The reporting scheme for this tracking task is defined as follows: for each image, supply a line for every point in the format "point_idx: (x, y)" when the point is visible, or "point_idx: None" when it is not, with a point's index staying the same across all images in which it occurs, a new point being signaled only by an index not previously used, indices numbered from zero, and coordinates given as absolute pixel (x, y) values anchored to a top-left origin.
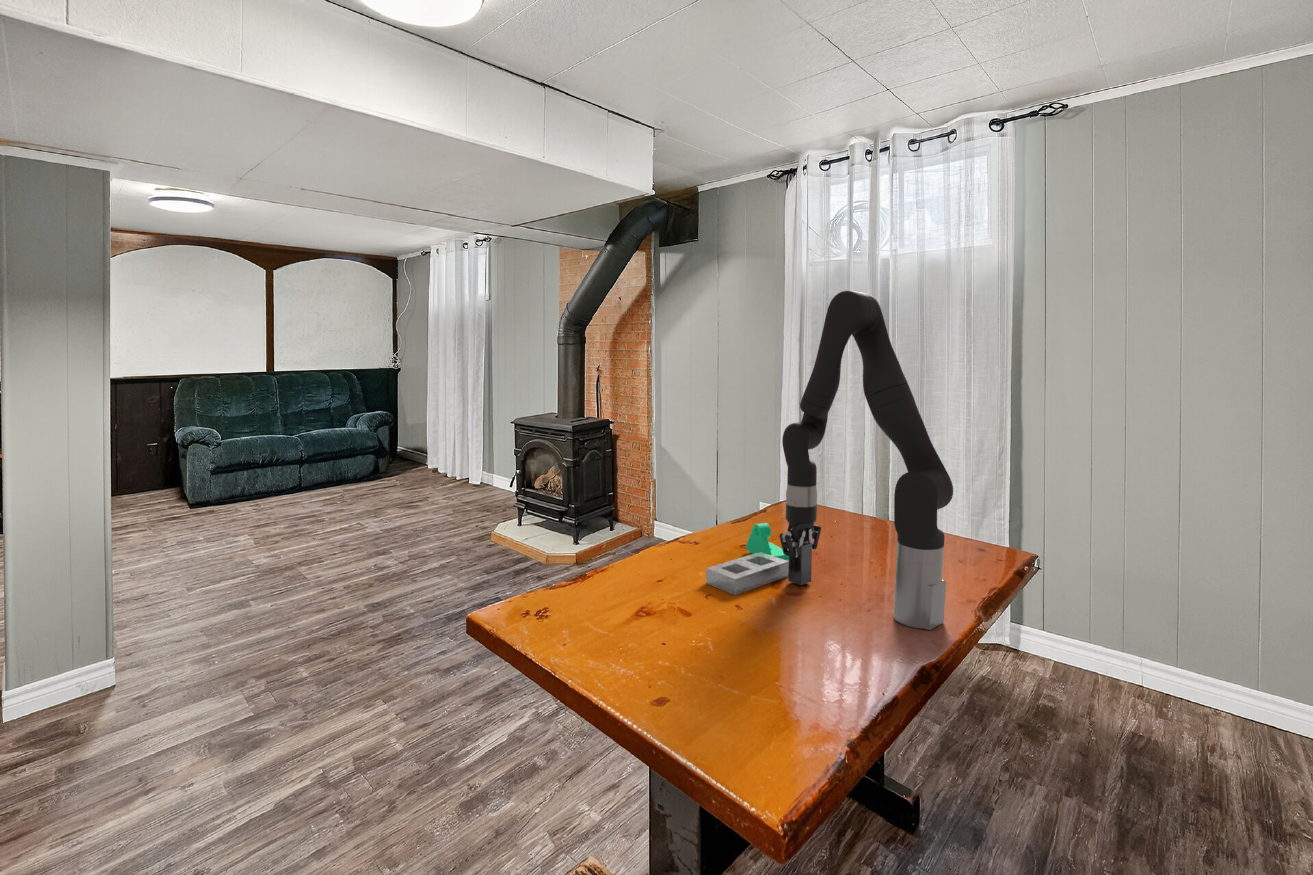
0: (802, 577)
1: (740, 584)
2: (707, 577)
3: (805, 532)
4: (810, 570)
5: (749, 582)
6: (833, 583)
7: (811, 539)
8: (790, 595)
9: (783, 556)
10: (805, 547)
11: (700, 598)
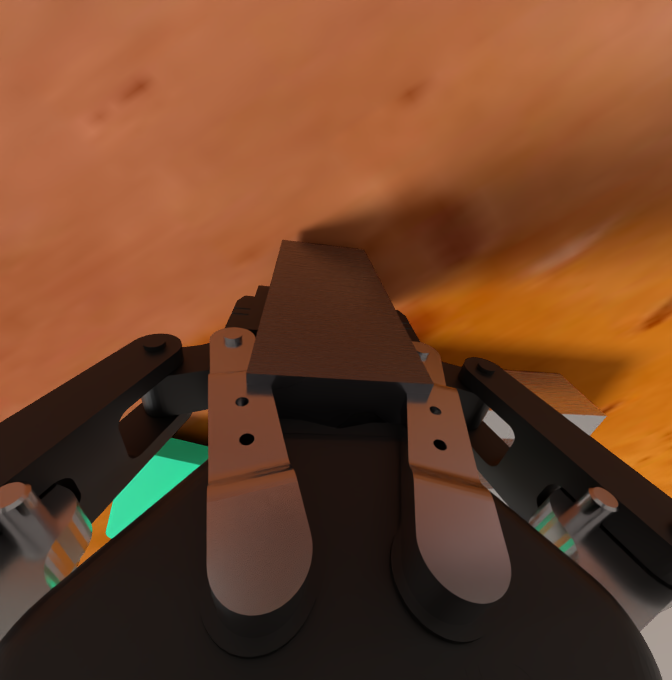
0: (360, 261)
1: (556, 393)
2: None
3: (420, 550)
4: (287, 260)
5: None
6: (175, 140)
7: (233, 412)
8: (476, 231)
9: (170, 452)
10: (367, 362)
11: (617, 415)
